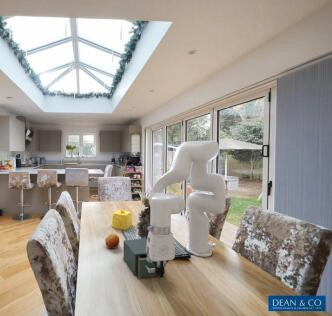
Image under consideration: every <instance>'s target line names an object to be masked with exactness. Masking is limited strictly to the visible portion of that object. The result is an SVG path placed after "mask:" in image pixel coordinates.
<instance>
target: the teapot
mask: <svg viewBox="0 0 332 316" xmlns="http://www.w3.org/2000/svg"><path fill="white" fill-rule="evenodd" d="M132 215H133V214H132V212H131V211H129V210H125V209H118V210H116V211H115V212H113V214H112V220H111V227H112V228H114V229H117V230H124V231H126V230H129V228H131V227H132V225H133V216H132Z"/></svg>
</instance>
